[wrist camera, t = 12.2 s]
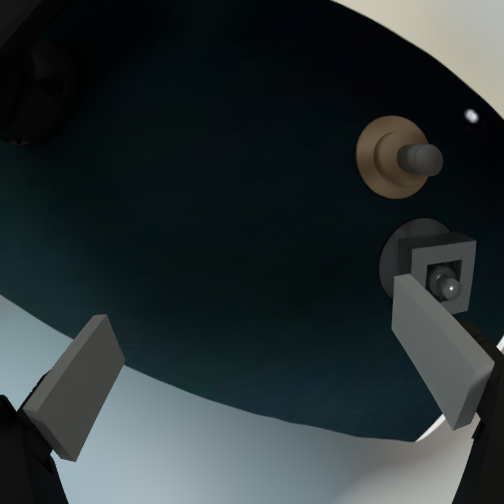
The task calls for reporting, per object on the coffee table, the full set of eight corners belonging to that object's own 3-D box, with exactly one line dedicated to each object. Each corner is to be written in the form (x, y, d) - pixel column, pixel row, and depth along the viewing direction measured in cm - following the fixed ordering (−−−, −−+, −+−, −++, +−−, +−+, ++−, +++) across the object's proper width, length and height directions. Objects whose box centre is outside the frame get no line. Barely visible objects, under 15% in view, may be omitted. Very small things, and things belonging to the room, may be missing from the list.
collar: (397, 238, 34) (412, 249, 30) (458, 231, 33) (476, 240, 30) (395, 308, 37) (406, 323, 33) (452, 297, 36) (467, 310, 32)
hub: (361, 253, 38) (389, 283, 29) (433, 199, 35) (475, 214, 26) (400, 318, 40) (428, 357, 31) (464, 269, 38) (501, 296, 29)
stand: (339, 144, 34) (363, 141, 25) (401, 101, 32) (438, 91, 23) (384, 213, 36) (416, 232, 28) (441, 170, 34) (482, 178, 26)
